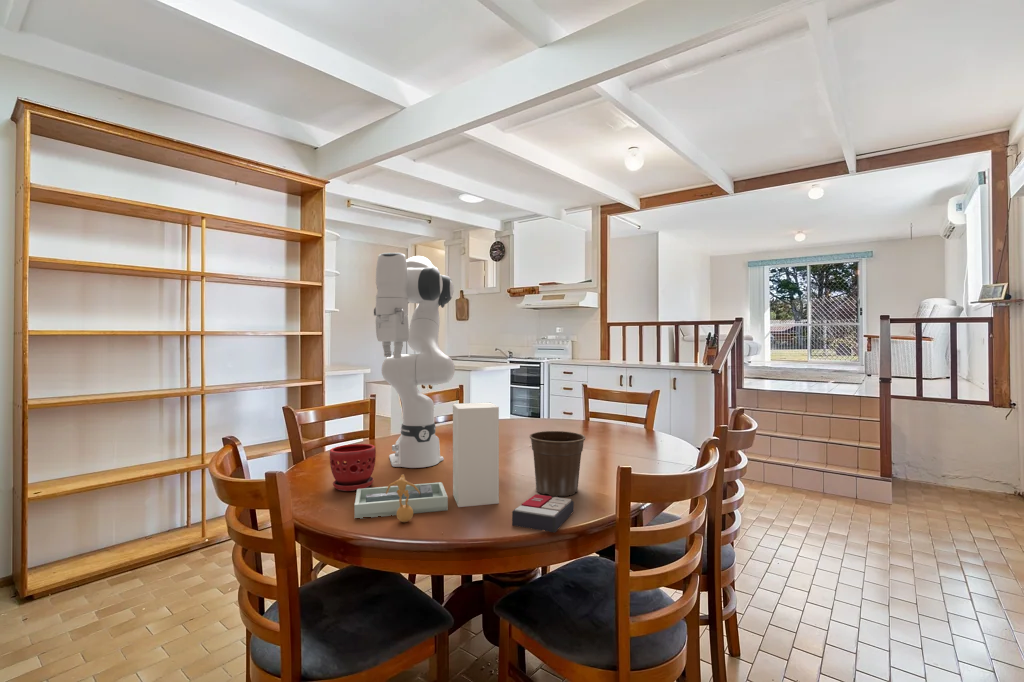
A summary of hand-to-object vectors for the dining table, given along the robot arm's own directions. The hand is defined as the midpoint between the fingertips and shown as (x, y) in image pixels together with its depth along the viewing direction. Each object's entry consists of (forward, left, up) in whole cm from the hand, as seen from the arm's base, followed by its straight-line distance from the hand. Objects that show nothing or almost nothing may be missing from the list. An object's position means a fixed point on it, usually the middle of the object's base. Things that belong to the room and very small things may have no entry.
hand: (392, 357), depth 136 cm
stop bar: (+9, -1, -38) cm, 39 cm away
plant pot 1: (-14, -8, -39) cm, 42 cm away
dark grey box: (+36, +28, -40) cm, 60 cm away
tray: (+10, 0, -39) cm, 40 cm away
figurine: (+22, -4, -39) cm, 45 cm away
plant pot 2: (+20, +43, -39) cm, 62 cm away
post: (+15, +19, -39) cm, 46 cm away
